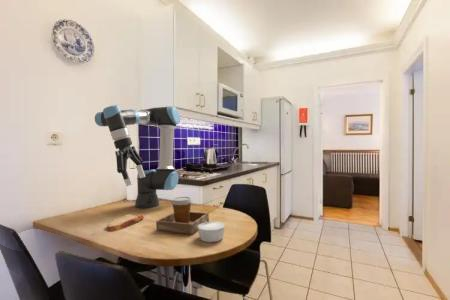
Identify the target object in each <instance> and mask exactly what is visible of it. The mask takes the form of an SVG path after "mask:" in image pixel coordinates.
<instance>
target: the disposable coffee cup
mask: <svg viewBox="0 0 450 300" xmlns="http://www.w3.org/2000/svg"><path fill="white" fill-rule="evenodd" d="M192 202H193V201H192V198H191V197H189V196H178V197H174V198H173V199H172V200H171V204H172V209H173V212H174V216H175V222H179V223H189V217H190V212H191V207H192V205H191V204H192Z"/></svg>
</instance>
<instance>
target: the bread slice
mask: <svg viewBox="0 0 450 300" xmlns="http://www.w3.org/2000/svg"><path fill="white" fill-rule="evenodd" d="M143 219H144V215H143V214H138V215H135V214H131V213H130V214H129V213H127V214H125V215H122V216H120V217H117V218H115V219H113V220H112V221H111V222H109V223H108V224H107V226H106V231H108V232H117V231H120V230H124V229H126V228H127V227H130V226H133V225H134V224H137V223H139V222H140V221H142V220H143Z"/></svg>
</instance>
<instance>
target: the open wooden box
mask: <svg viewBox="0 0 450 300" xmlns="http://www.w3.org/2000/svg"><path fill="white" fill-rule="evenodd" d="M209 213H210V212H200V211H199V212H197V211H190V217H189V223H179V222H175V216H174V211H173V212H171V213H170V214H168V215H165V216H164V217H162V218H159V219H158V220H156V221H155V222H156V223H155V227H156V228H155V229H156V230H155V231H156V232H159V233H160V232H161V233H170V234H181V235H187V236H188V235H191V236H193V235H195V234H196V233H197V232H199V231H198V225H199V224H201V223H205V222H210V215H209Z"/></svg>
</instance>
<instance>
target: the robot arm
mask: <svg viewBox="0 0 450 300" xmlns="http://www.w3.org/2000/svg"><path fill="white" fill-rule="evenodd" d="M94 122H95V125H97V126H98V127H103V128H104V127H108V130H109V133H110V136H111V139H112V140H113V144H114V148H115V149H116V150H115V152H114V154H115V159H116V171H117V173H118V174H121V175H122V177H123V178H122V179H123V181H124V183H125V186H126V187H128V186H132V185H133V181H132V179H131V176H130V174H129V170H128V169H127V167H128V159H130V160H131V161H132V162H133V163H134V164H135V168H136V170H137V177H136V183H137V185H136V186H137V194H136V199H135V203H134V206H135V208H137V209H148V208H149V209H150V208H154V207H157V206H160V199H159V197H158V194H157V190H158V191H160V190H161V191H172V190H174V189H176V188H177V185H178V183H179V173H178V172H177V171H176V168H175V166H174V140H175V139H174V137H175V136H174V135H175V129H177V125H178V124H180V122H181V117H180V112H179V110H178V109H177V108H176V107H175V106H160V107H159V106H158V107H151V108H150V107H149V108H147V109H140V110H136V109H123V110H122V109H121V107H120V106H119V105H117V104H116V105H115V104H113V105H110V106H107V107H105V108H103V110H102V111H100V112H99V111H98V112H96V113H95V115H94ZM137 124H138V125H139V124H140V125H147V126H148V125H149V126H157V127H158V128H159V129H160V130H159V131H160V134H159V135H160V136H159V160H158V161H159V162H158V167H157V168H156V169H148V170H144V169H143V164H144V162H143V159H142V157H140V154H139V153H138V151H137V150H136V147H135V146H134V145H133V141H132V139H131V137H129V136H130V133H129V129H128V127H127V126H131V125H137ZM132 145H133V146H132Z"/></svg>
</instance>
